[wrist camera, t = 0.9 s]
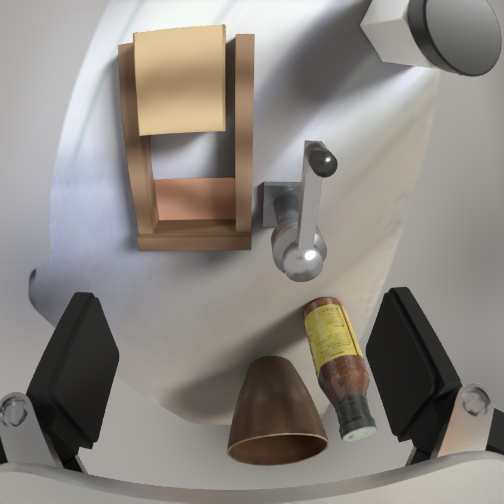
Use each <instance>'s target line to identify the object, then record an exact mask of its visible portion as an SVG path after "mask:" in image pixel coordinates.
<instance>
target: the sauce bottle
mask: <svg viewBox="0 0 504 504" xmlns="http://www.w3.org/2000/svg"><path fill="white" fill-rule="evenodd" d="M304 326H305V330H306V334H307V338H308V341H309V345H310V350H311V354H312V358H313V362H314V366H315V370H316V375H317V379H318V383H319V386H320V388H321V389H322V391H323V392H324V393H325V395H326V396H327V398H328V399H329V401H330V402H331V403H332V405H333V406H334V408H335V411H336V413H337V416H338V420H339V424H340V430H339V432H340V435H341V439H342V440H343V441H346V442H351V441H356V440H360V439H363V438H366V437H367V436H370V435H371V434H373V433H374V432H375V431H376V424H375V420H374V419H373V418H372V417H371V414H370V410H369V407H368V404H367V399H366V393H367V392H366V391H367V388H368V385H369V375H368V372H367V369H366V367H365V364H364V358H363V356H362V353H361V350H360V347H359V345H358V342H357V339H356V336H355V334H354V331H353V328H352V326H351V323H350V321H349V318H348V315H347V313H346V310H345V309H344V307H343V305H342V304H341V303H340V301H338V300H337V299H335V298H331V297H328V298H325V297H324V298H319V299H317V300H315V301H313V302H312V303H310V304H309V305H308V306H307V308H306V309H305V311H304Z"/></svg>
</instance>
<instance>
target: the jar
mask: <svg viewBox="0 0 504 504" xmlns="http://www.w3.org/2000/svg"><path fill="white" fill-rule="evenodd" d="M360 27H361V29H362V30H363V32H364V33H365V35H366V36H367V38H368V39H369V41H370V42H371V44H372V45H373V47H374V48H375V50H376V52H377V53H378V55H379V56H380V58H381V60H382V61H383V62H388V63H397V64H405V65H413V66H420V67H426V68H433V69H441V70H444V71H447V72H451V73H456V74H459V75H465V76H471V77H472V76H473V77H475V76H480V75H484V74H486V73H487V72H489V71H490V70H491V69H492V68H493V67H494V65H495V64H496V62H497V60H498V58H499V55H500V51H501V31H500V26H499V23H498V20H497V17H496V15H495V13H494V11H493V9H492V7H491V6H490V4H489V3H488V1H487V0H372V2H371V4H370V6H369V8H368V10H367V12H366V14H365V16H364V18H363V20H362V22H361V24H360Z"/></svg>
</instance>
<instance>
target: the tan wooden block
mask: <svg viewBox="0 0 504 504" xmlns="http://www.w3.org/2000/svg"><path fill="white" fill-rule="evenodd" d="M225 37H226V26H225V25H214V26H195V27H183V28H172V29H163V30H155V31H148V32H141V33H133V44H134V74H135V92H136V107H137V120H138V131H139V136H143V135H154V134H168V133H186V132H211V131H225V129H226V124H225Z"/></svg>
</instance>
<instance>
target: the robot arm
mask: <svg viewBox="0 0 504 504" xmlns="http://www.w3.org/2000/svg"><path fill="white" fill-rule="evenodd" d="M366 357H367V359H368V362H369V365H370V368H371V371H372V373H373V376H374V379H375V382H376V385H377V388H378V391H379V394H380V397H381V400H382V403H383V406H384V409H385V412H386V415H387V418H388V421H389V425H390V428H391V431H392V433H393V434H394V435H395V436H397V437H398V440H399V442H402V441H406V440H410V439H412V442H413V445H414V447H413V450H412V452H411V454H410V456H409V458H408V460H407V463H406V465H405V467H401V468H398V469H394V470H390V471H385V472H381V473H377V474H372V475H368V476H363V477H358V478H353V479H348V480H343V481H336V482H330V483H323V484H316V485H308V486H300V487H299V486H298V487H288V488H276V489H257V490H204V489H186V488H173V487H162V486H154V485H146V484H139V483H132V482H126V481H120V480H115V479H108V478H104V477H99V476H94V475H89V474H88V473H87V471H86V469H85V467H84V465H83V464H82V462H81V460H80V458H79V456H78V450H79V447H83V448H88V449H92V447H93V443H94V442H97V440H98V438H99V434H100V430H101V426H102V421H103V417H104V413H105V409H106V405H107V401H108V398H109V394H110V390H111V387H112V383H113V380H114V376H115V372H116V369H117V366H118V362H119V351H118V348H117V346H116V343H115V341H114V338H113V336H112V333H111V331H110V328H109V326H108V323H107V320H106V318H105V315H104V312H103V310H102V307H101V304H100V301H99V299H98V298H97V297H95V296H94V295H93V293H88V292H76V293H75V294H74V295H73V297H72V299H71V301H70V302H69V304H68V306H67V308H66V310H65V312H64V314H63V315H62V317H61V319H60V321H59V323H58V325H57V327H56V329H55V331H54V333H53V335H52V337H51V339H50V341H49V343H48V345H47V347H46V349H45V351H44V353H43V356H42V358H41V360H40V362H39V365H38V366H37V369H36V371H35V373H34V375H33V378H32V380H31V382H30V385H29V387H28V389H27V393H26V395H25V394H23V393H20V392H13V393H10V394H8V395H6V396H4V397H3V398H2V399H1V401H0V504H504V413H503V412H501V411H499V410H497V409H495V408H494V400H493V397H492V395H491V393H490V392H489V391H488V390H487V389H486V388H485V387H484V386H482V385H480V384H477V383H467V384H465V385H463V386H462V384H461V382H460V378H459V376H458V374H457V372H456V370H455V369H454V367H453V365H452V363H451V361H450V359H449V357H448V356H447V353H446V352H445V350H444V348H443V346H442V344H441V342H440V341H439V339H438V337H437V336H436V333H435V332H434V330H433V328H432V326H431V325H430V323H429V321H428V320H427V318H426V316H425V314H424V313H423V311H422V309H421V308H420V306H419V304H418V303H417V301H416V300H415V298H414V296H413V295H412V293H411V291H410V290H409V289H408V288H407V287H397V288H391V289H390V290H389V292H388V293H385V294H384V297H383V300H382V303H381V306H380V309H379V312H378V315H377V318H376V321H375V324H374V326H373V329H372V332H371V335H370V337H369V340H368V343H367V345H366Z"/></svg>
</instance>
